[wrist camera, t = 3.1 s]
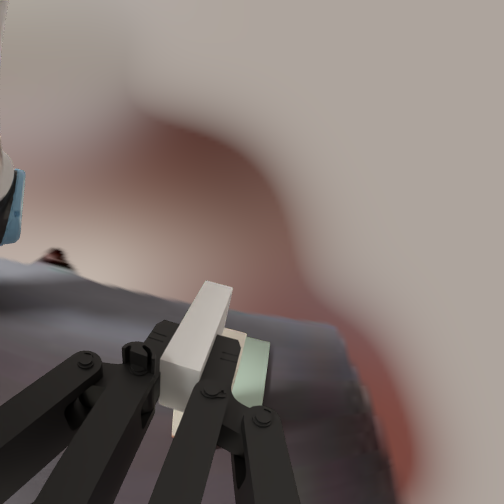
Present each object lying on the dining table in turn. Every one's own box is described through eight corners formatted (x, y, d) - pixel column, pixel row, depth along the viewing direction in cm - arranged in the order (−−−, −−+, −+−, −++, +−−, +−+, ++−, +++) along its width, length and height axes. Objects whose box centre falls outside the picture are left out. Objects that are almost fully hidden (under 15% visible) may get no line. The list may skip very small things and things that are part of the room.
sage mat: (152, 389, 34) (152, 386, 34) (187, 323, 49) (188, 320, 49) (259, 419, 34) (260, 417, 33) (269, 345, 48) (270, 342, 48)
